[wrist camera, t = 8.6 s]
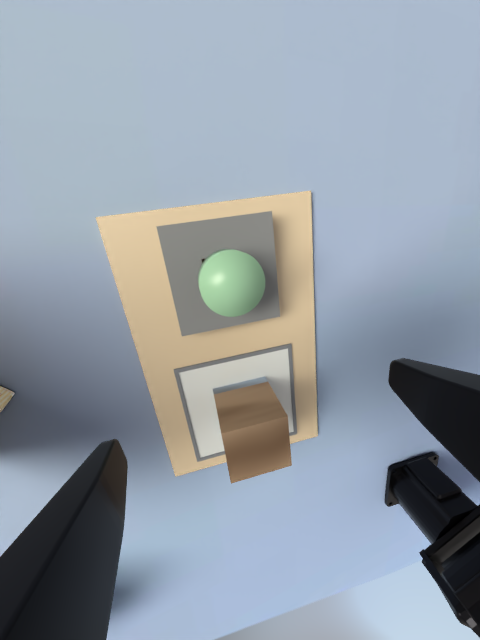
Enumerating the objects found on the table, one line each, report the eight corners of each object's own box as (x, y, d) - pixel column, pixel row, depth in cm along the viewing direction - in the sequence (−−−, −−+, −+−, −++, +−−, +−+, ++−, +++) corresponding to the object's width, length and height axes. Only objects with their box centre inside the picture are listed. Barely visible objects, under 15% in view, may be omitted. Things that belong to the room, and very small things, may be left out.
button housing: (271, 308, 20) (280, 316, 18) (181, 326, 19) (181, 336, 17) (262, 213, 17) (271, 210, 16) (159, 227, 16) (156, 226, 15)
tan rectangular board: (316, 433, 25) (318, 437, 25) (175, 473, 23) (175, 478, 23) (308, 191, 18) (312, 190, 17) (97, 217, 15) (94, 217, 15)
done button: (252, 296, 18) (268, 310, 15) (201, 305, 17) (206, 322, 14) (246, 243, 16) (261, 245, 13) (191, 251, 16) (193, 256, 13)
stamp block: (269, 418, 23) (291, 465, 18) (221, 431, 22) (231, 483, 18) (265, 376, 21) (287, 415, 17) (212, 388, 21) (221, 433, 16)
